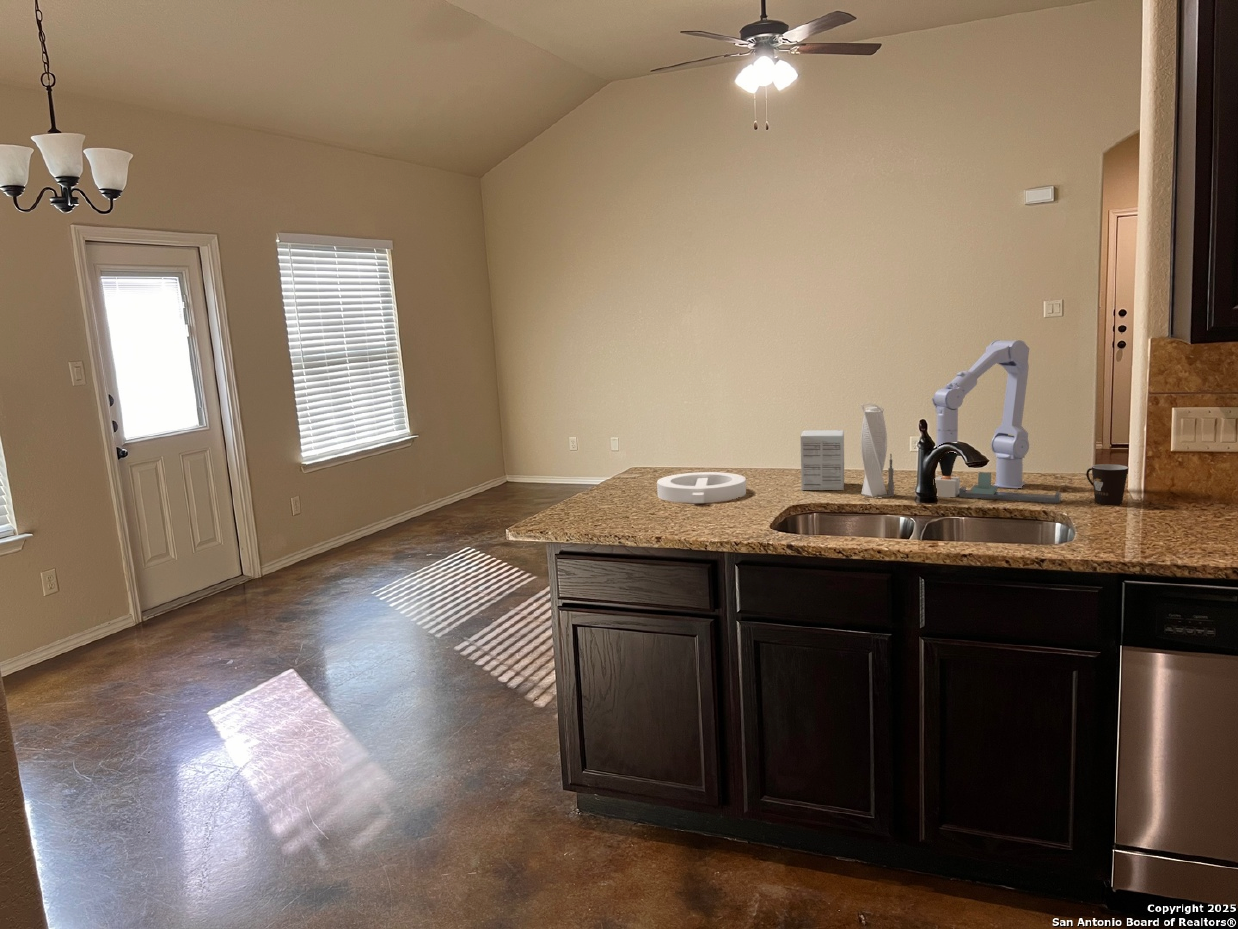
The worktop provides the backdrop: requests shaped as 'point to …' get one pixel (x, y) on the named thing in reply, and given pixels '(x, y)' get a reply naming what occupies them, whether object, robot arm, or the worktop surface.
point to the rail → (1012, 496)
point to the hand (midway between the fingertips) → (946, 475)
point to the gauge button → (946, 477)
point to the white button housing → (947, 486)
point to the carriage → (984, 484)
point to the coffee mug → (1108, 483)
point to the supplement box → (822, 460)
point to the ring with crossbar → (701, 487)
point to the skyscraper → (875, 453)
